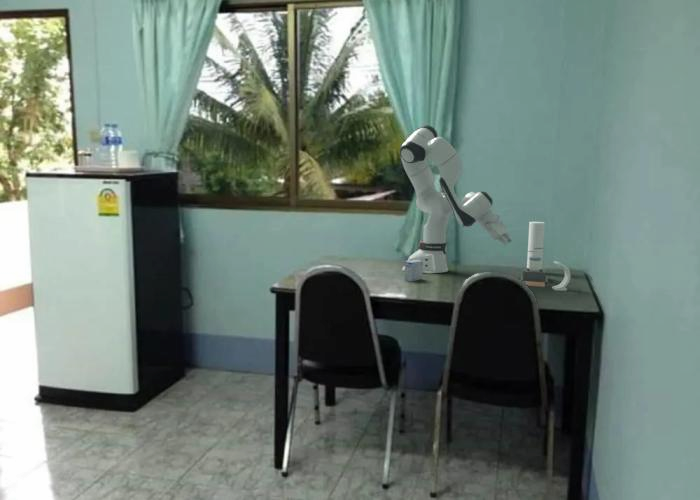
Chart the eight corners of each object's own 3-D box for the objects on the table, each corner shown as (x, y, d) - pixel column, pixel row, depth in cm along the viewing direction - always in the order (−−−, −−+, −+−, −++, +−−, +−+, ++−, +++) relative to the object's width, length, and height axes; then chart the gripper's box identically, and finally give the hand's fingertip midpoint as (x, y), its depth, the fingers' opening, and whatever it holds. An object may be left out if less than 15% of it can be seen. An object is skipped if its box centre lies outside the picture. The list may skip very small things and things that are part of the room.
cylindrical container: (542, 274, 300) (545, 223, 296) (527, 273, 301) (530, 222, 298) (540, 271, 307) (543, 221, 303) (526, 271, 308) (528, 221, 305)
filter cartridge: (528, 279, 284) (529, 257, 283) (528, 277, 289) (529, 256, 288) (540, 280, 283) (541, 258, 281) (539, 278, 288) (541, 256, 286)
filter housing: (520, 281, 282) (520, 271, 281) (520, 276, 294) (521, 267, 293) (547, 283, 279) (548, 273, 278) (547, 278, 290) (547, 268, 289)
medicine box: (415, 278, 286) (415, 259, 285) (422, 279, 283) (423, 260, 282) (404, 280, 281) (404, 261, 280) (411, 281, 278) (412, 262, 276)
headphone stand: (551, 288, 267) (553, 260, 266) (565, 288, 267) (567, 261, 266) (555, 290, 263) (557, 262, 261) (569, 290, 263) (571, 262, 261)
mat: (523, 285, 272) (523, 284, 272) (523, 282, 280) (523, 280, 280) (544, 287, 269) (544, 286, 269) (544, 283, 278) (544, 282, 278)
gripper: (488, 218, 281) (509, 241, 278) (498, 215, 299) (517, 236, 296) (478, 227, 283) (499, 250, 281) (488, 223, 302) (508, 244, 299)
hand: (508, 243), depth 289 cm, fingers open, 8 cm apart
